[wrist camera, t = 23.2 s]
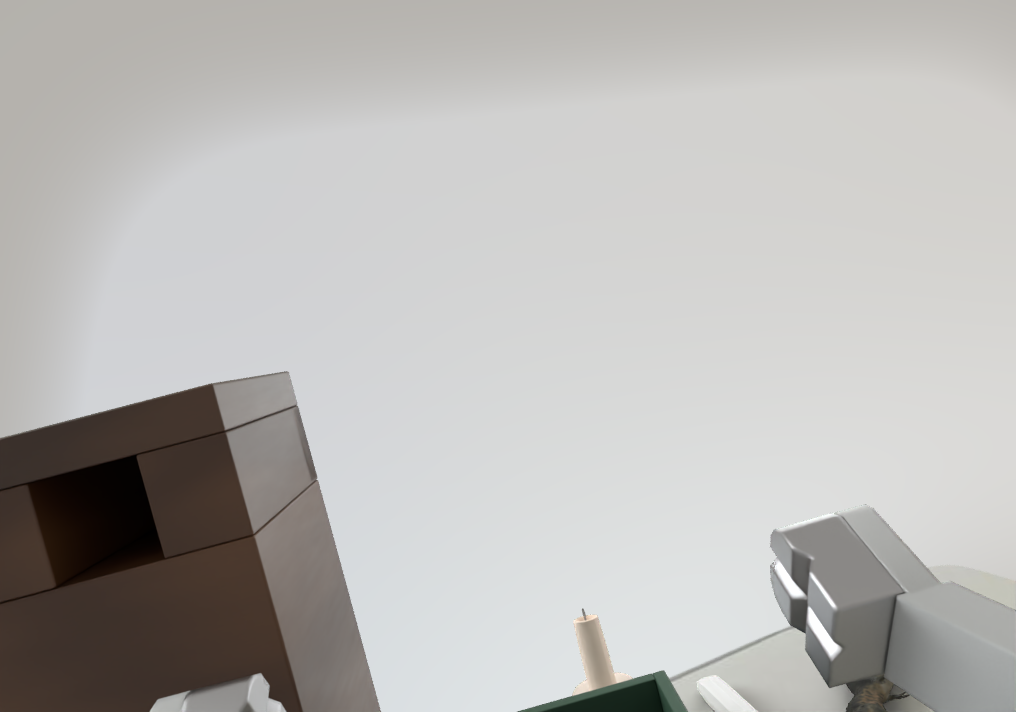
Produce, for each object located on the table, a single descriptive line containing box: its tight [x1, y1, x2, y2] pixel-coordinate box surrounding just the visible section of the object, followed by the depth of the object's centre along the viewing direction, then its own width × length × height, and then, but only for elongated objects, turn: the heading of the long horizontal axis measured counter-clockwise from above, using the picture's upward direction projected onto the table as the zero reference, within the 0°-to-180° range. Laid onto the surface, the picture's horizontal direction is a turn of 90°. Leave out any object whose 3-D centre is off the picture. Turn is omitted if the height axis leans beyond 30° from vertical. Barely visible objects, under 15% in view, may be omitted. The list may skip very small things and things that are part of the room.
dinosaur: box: [846, 674, 910, 712], centre depth 46 cm, size 4×20×7 cm
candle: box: [572, 609, 633, 696], centre depth 41 cm, size 5×5×10 cm
